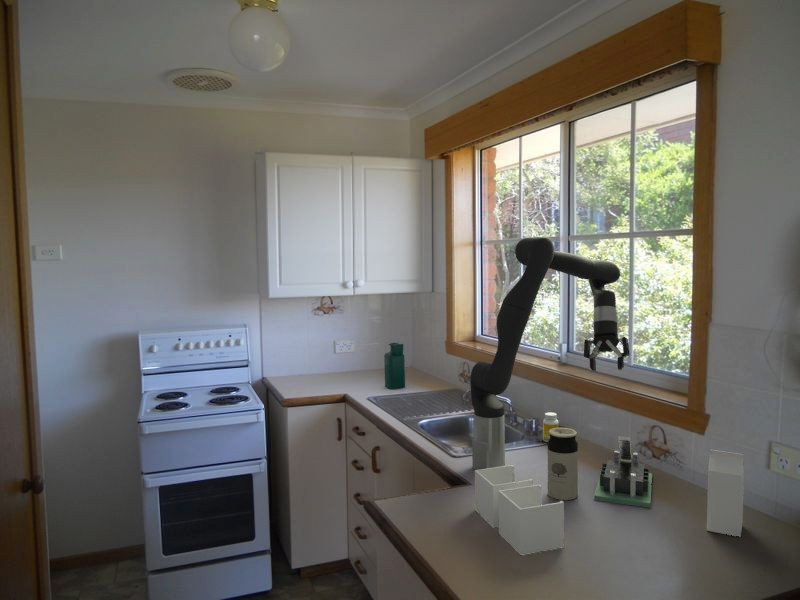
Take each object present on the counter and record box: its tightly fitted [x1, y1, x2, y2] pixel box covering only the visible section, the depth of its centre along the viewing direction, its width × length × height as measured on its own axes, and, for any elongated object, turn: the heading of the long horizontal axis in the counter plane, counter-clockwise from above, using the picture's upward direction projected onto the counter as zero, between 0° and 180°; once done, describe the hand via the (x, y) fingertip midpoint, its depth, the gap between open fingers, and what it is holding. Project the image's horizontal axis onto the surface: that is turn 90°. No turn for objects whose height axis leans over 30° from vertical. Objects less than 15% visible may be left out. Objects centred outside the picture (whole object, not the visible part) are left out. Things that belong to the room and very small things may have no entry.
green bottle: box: [383, 342, 406, 391], centre depth 296 cm, size 10×8×22 cm
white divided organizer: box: [474, 464, 565, 555], centre depth 149 cm, size 25×11×11 cm, turn 17°
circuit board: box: [593, 468, 653, 508], centre depth 171 cm, size 22×14×1 cm, turn 157°
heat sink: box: [599, 450, 650, 498], centre depth 171 cm, size 17×12×7 cm
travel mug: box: [547, 427, 579, 501], centre depth 167 cm, size 8×8×18 cm
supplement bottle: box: [542, 412, 560, 443], centre depth 213 cm, size 5×5×10 cm
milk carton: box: [706, 449, 745, 538], centre depth 146 cm, size 7×7×19 cm
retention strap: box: [617, 435, 633, 462], centre depth 172 cm, size 16×3×1 cm
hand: (606, 370), depth 198 cm, fingers open, 8 cm apart
